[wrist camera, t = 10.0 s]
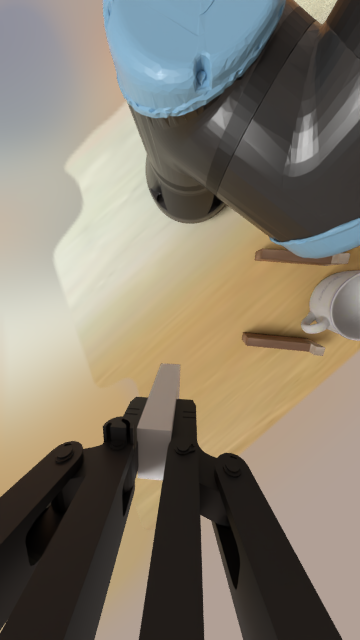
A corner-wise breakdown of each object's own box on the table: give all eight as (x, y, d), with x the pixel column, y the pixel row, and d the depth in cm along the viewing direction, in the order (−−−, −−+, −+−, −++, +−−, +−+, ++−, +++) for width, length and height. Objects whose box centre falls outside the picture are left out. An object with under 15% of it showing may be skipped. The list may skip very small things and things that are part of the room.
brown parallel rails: (256, 251, 35) (266, 247, 30) (327, 257, 34) (350, 253, 29) (241, 339, 38) (249, 348, 33) (306, 345, 38) (323, 355, 33)
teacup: (357, 262, 34) (406, 258, 26) (365, 318, 36) (413, 330, 28) (278, 287, 36) (302, 290, 28) (290, 339, 38) (316, 355, 30)
